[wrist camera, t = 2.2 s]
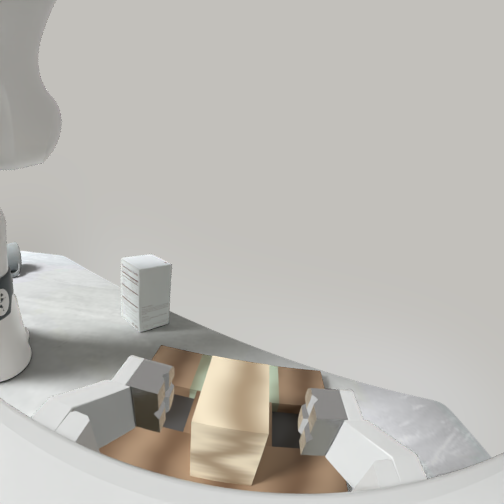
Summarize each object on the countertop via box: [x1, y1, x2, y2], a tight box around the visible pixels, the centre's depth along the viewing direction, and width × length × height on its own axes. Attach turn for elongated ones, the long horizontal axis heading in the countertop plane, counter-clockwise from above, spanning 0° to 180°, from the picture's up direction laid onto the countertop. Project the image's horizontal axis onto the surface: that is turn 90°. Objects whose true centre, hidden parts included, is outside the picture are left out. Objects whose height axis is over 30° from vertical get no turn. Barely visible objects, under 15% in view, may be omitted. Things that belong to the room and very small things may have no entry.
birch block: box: [190, 356, 269, 486], centre depth 25 cm, size 6×10×9 cm, turn 177°
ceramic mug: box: [7, 242, 22, 278], centre depth 57 cm, size 11×8×8 cm
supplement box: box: [121, 254, 172, 332], centre depth 53 cm, size 7×7×13 cm
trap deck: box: [99, 345, 348, 494], centre depth 32 cm, size 26×24×2 cm
